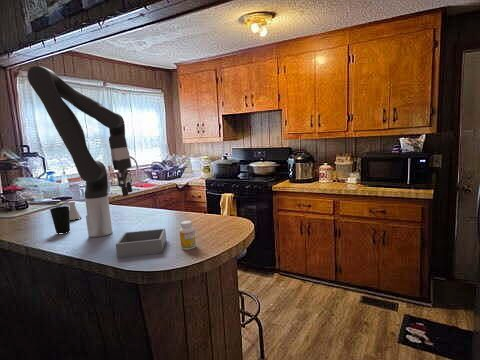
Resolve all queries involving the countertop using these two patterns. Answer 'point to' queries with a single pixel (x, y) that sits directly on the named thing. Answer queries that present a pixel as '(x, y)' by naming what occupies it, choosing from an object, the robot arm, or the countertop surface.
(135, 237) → the tote
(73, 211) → the flask
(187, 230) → the supplement bottle
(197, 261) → the countertop surface
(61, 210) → the cup
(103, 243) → the countertop surface
